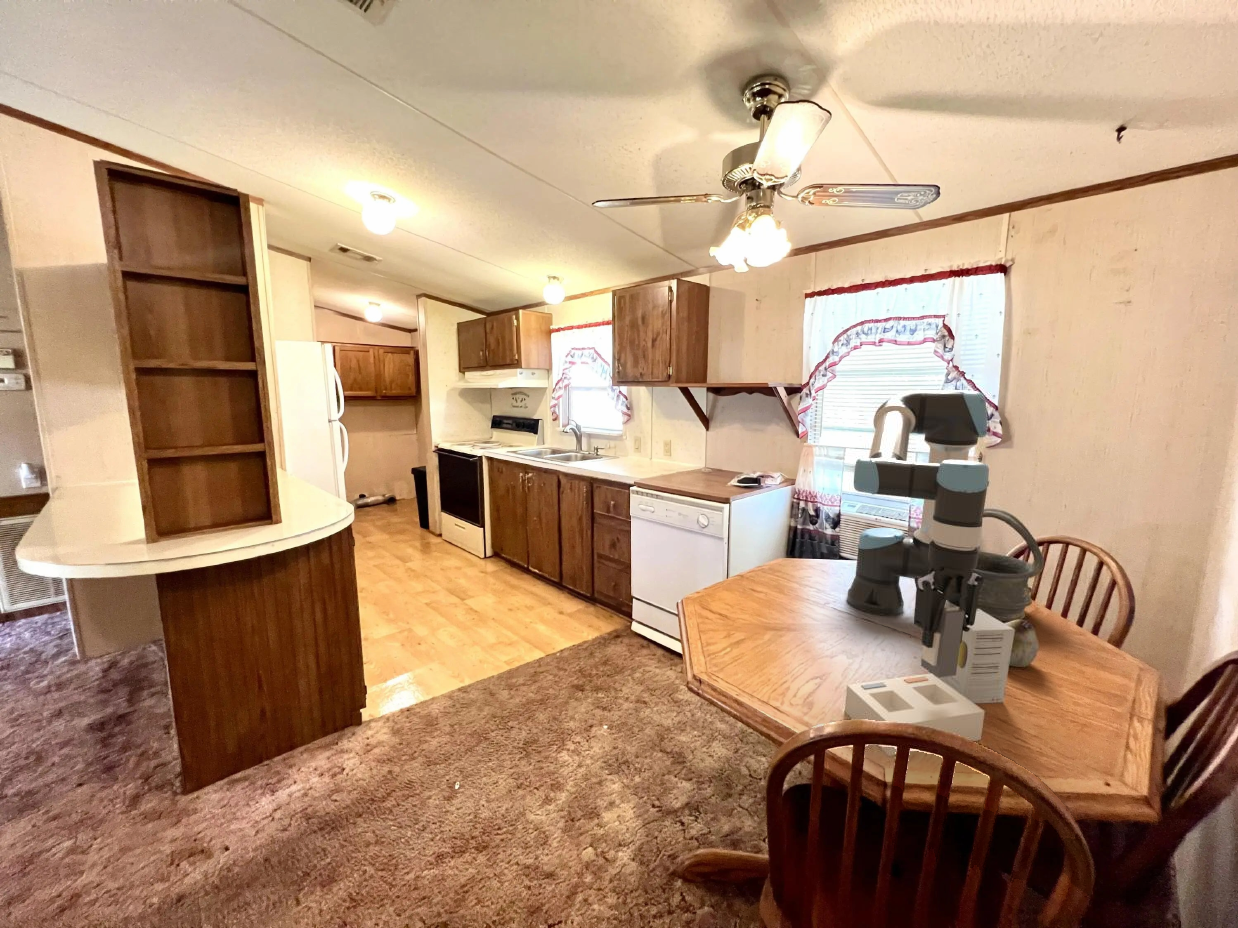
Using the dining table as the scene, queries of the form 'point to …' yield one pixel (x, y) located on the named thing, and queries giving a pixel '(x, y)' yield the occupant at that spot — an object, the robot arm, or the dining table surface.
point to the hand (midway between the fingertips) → (939, 659)
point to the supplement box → (983, 660)
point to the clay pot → (1007, 575)
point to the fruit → (1023, 643)
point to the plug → (947, 642)
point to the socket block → (915, 705)
